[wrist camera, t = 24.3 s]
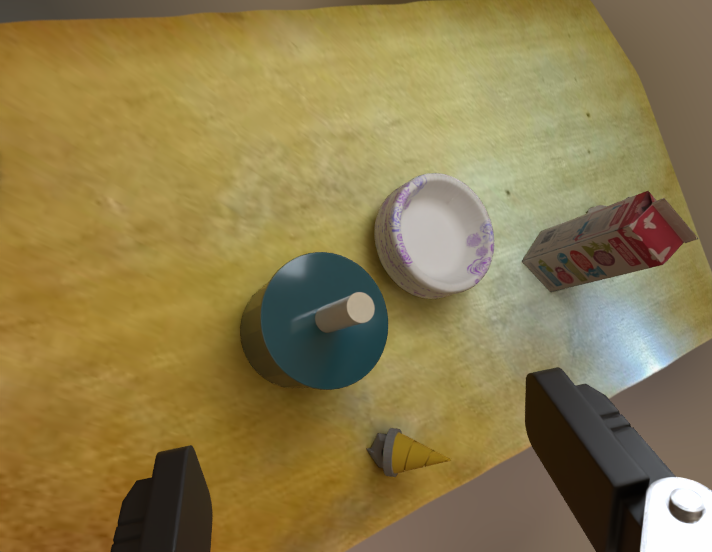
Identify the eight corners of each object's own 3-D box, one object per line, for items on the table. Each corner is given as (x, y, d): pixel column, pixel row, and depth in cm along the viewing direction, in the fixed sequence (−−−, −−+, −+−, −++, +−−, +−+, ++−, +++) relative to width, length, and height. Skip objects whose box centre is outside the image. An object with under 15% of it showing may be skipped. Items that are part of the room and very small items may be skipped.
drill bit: (371, 417, 70) (453, 426, 66) (373, 455, 71) (454, 466, 68) (357, 441, 65) (445, 452, 62) (360, 481, 66) (447, 495, 63)
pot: (319, 406, 66) (354, 405, 58) (220, 357, 63) (242, 349, 54) (359, 309, 71) (397, 296, 63) (269, 258, 68) (297, 237, 59)
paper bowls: (467, 301, 79) (505, 290, 72) (368, 304, 72) (400, 293, 65) (452, 195, 82) (488, 175, 75) (356, 189, 75) (385, 166, 68)
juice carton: (540, 231, 88) (673, 181, 68) (568, 261, 89) (706, 220, 69) (521, 261, 85) (654, 217, 65) (550, 292, 86) (689, 258, 67)
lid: (350, 414, 58) (392, 415, 51) (231, 346, 55) (257, 336, 47) (401, 298, 64) (447, 283, 56) (296, 229, 60) (330, 203, 52)
